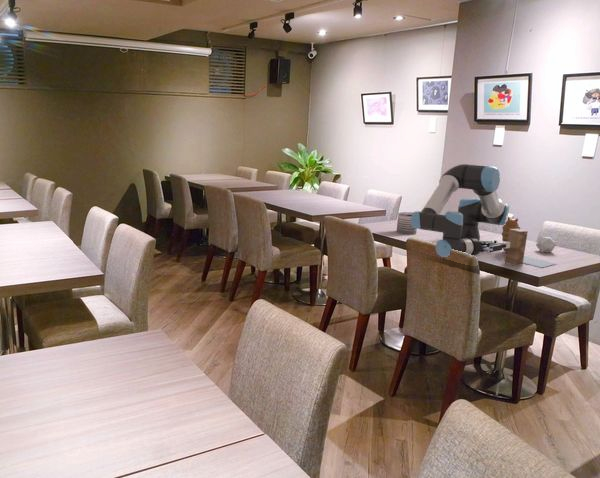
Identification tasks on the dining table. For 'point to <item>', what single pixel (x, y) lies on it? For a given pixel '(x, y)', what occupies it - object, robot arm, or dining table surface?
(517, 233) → the block
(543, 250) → the grey knobbly ball
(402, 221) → the can
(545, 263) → the mat
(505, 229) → the cat ice cream
